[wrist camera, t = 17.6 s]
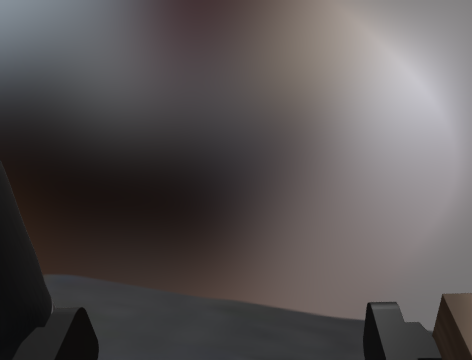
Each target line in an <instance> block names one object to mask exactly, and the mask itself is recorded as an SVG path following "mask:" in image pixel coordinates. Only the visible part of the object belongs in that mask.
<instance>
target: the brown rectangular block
mask: <svg viewBox="0 0 472 360" xmlns="http://www.w3.org/2000/svg"><path fill="white" fill-rule="evenodd" d="M432 337H433V338H434V340H435V342H436V345H437V347H438V350H439V352H440V355H441V357H442V360H472V293H461V294H442V298H441V302H440V306H439V311H438V314H437V319H436V323H435V327H434V331H433V335H432Z"/></svg>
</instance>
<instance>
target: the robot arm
mask: <svg viewBox="0 0 472 360" xmlns="http://www.w3.org/2000/svg"><path fill="white" fill-rule="evenodd" d="M363 348H364V356H365V360H442V357H441V355H440V352H439V350H438V347H437V345H436V342H435V340H434V338H433V337H432V336H431V335H430V334H429V333H428V331H427V330H426V329H425V328H424V327H423V326H422V325H421V324H420V323H419V322H407V323H406V322H404V319H403V316H402V313H401V311H400V308H399V306H398V304H397V303H396V302H370V303H368V304H367V310H366V318H365V327H364V336H363ZM98 353H99V345H98V340H97V337H96V335H95V332H94V329H93V327H92V324H91V322H90V319H89V317H88V314H87V312H86V310H85V309H84V308H83V307H73V308H56V307H55V305H54V303H53V301H52V299H51V296H50V294H49V292H48V289H47V287H46V285H45V282H44V278H43V275H42V272H41V269H40V265H39V262H38V259H37V256H36V254H35V250H34V248H33V246H32V243H31V241H30V238H29V236H28V234H27V231H26V228H25V226H24V223H23V220H22V218H21V215H20V212H19V209H18V207H17V204H16V201H15V198H14V195H13V193H12V189H11V186H10V183H9V180H8V178H7V176H6V173H5V170H4V168H3V165H2V163H1V161H0V360H97V359H98Z"/></svg>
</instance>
